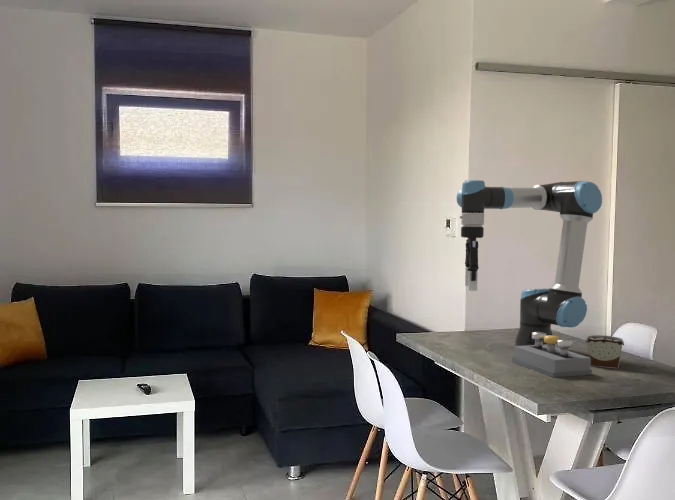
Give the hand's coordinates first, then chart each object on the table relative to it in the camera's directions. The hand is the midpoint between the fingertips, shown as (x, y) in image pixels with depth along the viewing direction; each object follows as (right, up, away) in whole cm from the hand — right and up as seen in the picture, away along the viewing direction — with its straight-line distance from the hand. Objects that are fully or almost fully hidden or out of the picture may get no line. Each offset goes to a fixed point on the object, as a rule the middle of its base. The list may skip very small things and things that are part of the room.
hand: (470, 288), depth 233 cm
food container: (+47, -27, +4) cm, 54 cm away
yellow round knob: (+27, -21, -2) cm, 34 cm away
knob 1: (+24, -21, +4) cm, 32 cm away
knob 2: (+29, -22, -9) cm, 37 cm away
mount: (+26, -27, -2) cm, 38 cm away
